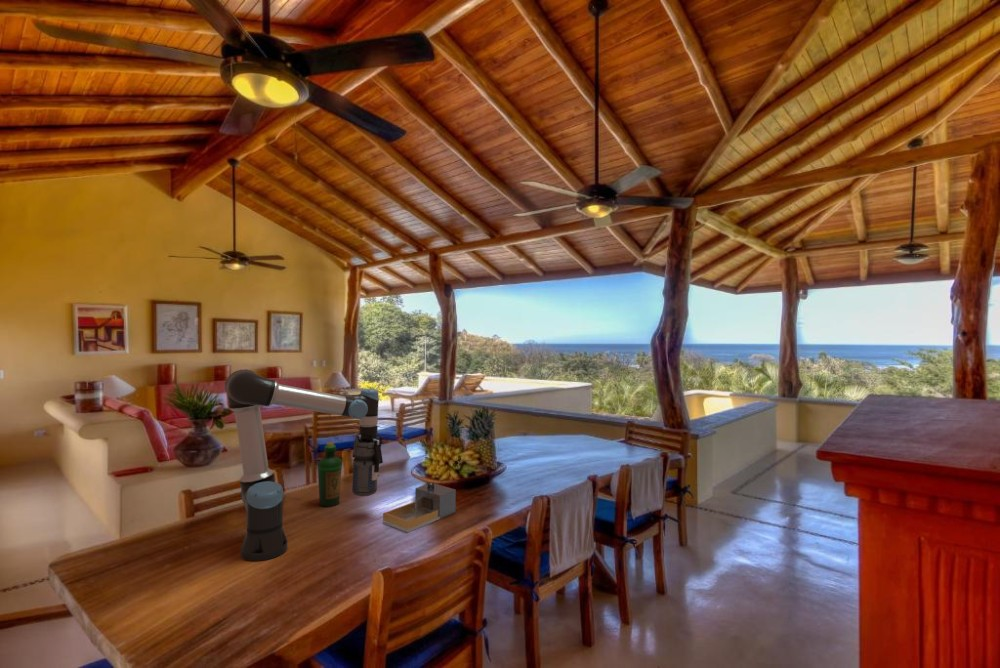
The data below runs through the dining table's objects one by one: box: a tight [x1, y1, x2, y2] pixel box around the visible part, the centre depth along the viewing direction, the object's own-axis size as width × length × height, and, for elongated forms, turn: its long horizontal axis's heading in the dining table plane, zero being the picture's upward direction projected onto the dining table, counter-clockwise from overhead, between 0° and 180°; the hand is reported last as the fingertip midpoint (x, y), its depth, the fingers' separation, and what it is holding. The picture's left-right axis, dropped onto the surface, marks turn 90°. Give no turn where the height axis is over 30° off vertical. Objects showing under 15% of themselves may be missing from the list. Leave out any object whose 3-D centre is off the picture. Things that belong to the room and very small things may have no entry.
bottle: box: [317, 441, 343, 507], centre depth 220 cm, size 11×11×28 cm
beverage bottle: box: [351, 434, 383, 497], centre depth 206 cm, size 10×13×25 cm
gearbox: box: [382, 481, 457, 533], centre depth 205 cm, size 28×15×12 cm, turn 143°
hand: (366, 477), depth 206 cm, fingers closed on beverage bottle, 10 cm apart
